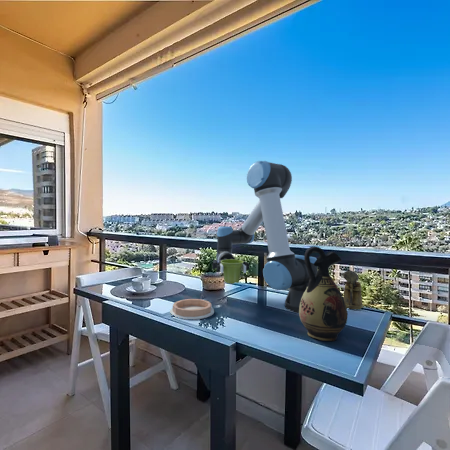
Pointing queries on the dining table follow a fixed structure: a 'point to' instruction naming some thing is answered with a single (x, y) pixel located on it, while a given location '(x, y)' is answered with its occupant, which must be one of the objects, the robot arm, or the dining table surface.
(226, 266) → the plant pot
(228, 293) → the dining table surface
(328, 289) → the ceramic jug
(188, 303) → the ring collar
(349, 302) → the stone figurine
